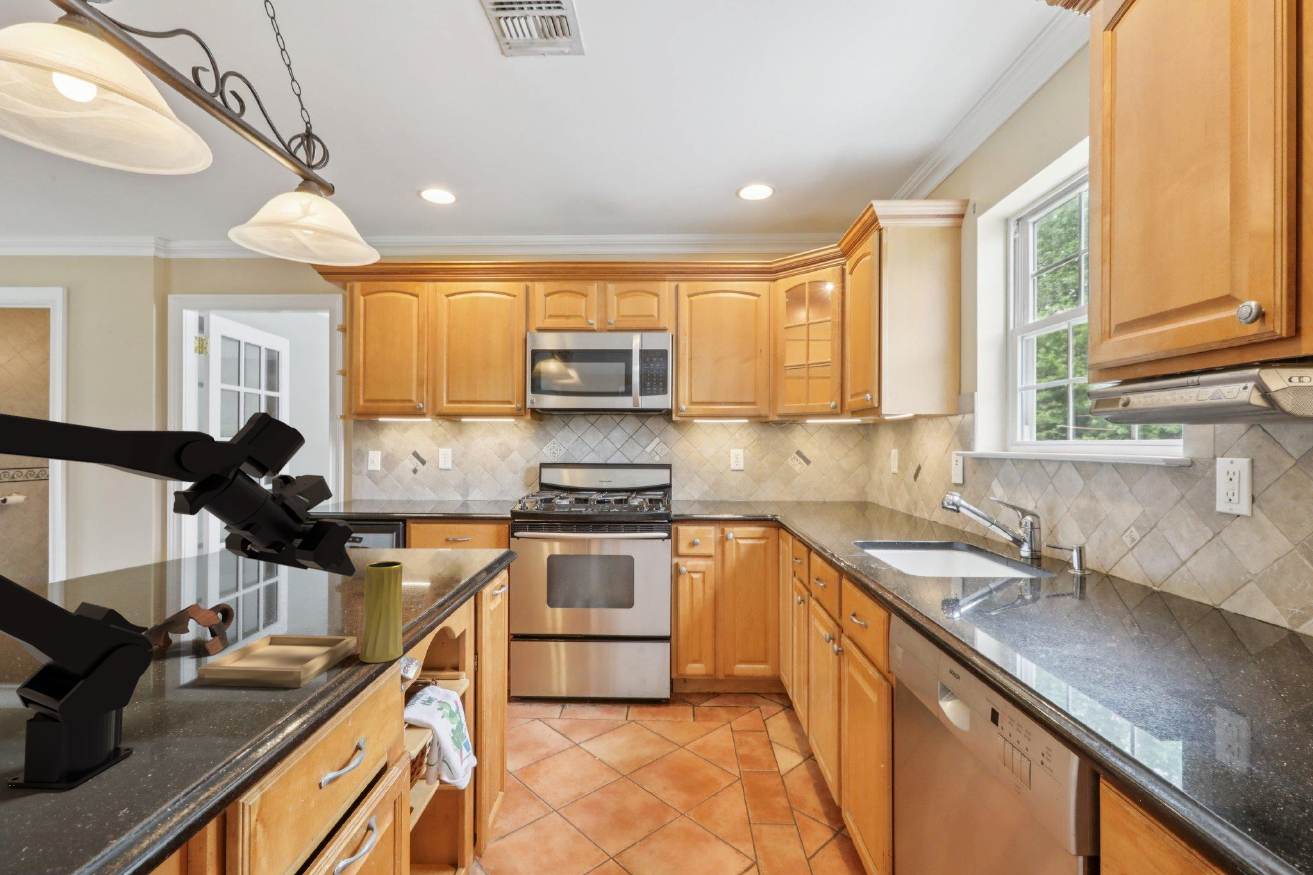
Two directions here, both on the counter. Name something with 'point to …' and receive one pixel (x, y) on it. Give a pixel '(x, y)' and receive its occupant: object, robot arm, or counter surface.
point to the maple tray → (278, 661)
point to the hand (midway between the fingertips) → (330, 570)
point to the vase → (382, 612)
